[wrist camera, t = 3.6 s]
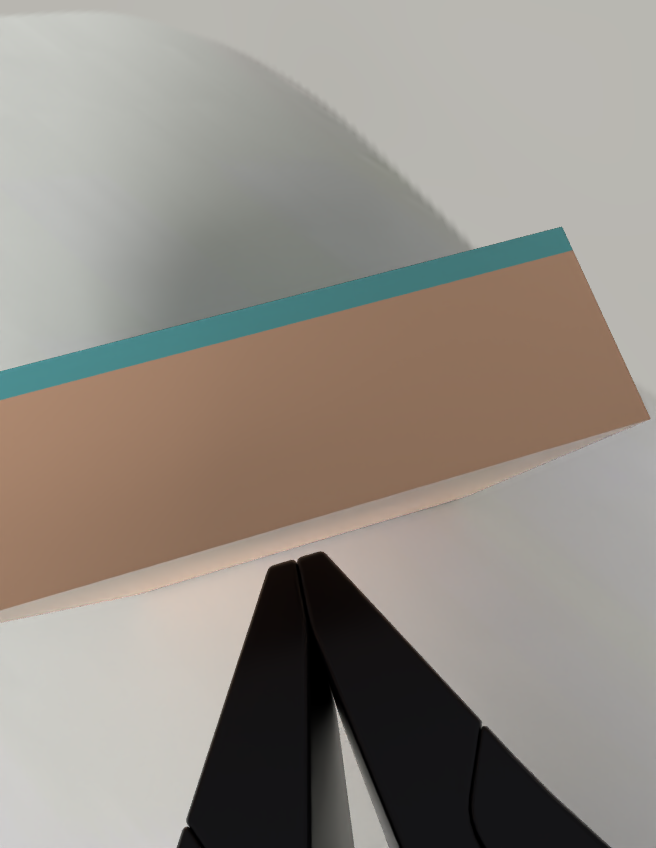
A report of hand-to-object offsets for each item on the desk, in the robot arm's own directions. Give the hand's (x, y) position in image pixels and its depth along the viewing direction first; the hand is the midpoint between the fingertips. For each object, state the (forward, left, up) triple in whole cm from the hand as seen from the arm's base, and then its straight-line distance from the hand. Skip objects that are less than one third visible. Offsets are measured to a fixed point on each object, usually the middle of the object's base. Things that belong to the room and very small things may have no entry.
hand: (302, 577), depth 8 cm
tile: (+2, 0, -7) cm, 8 cm away
